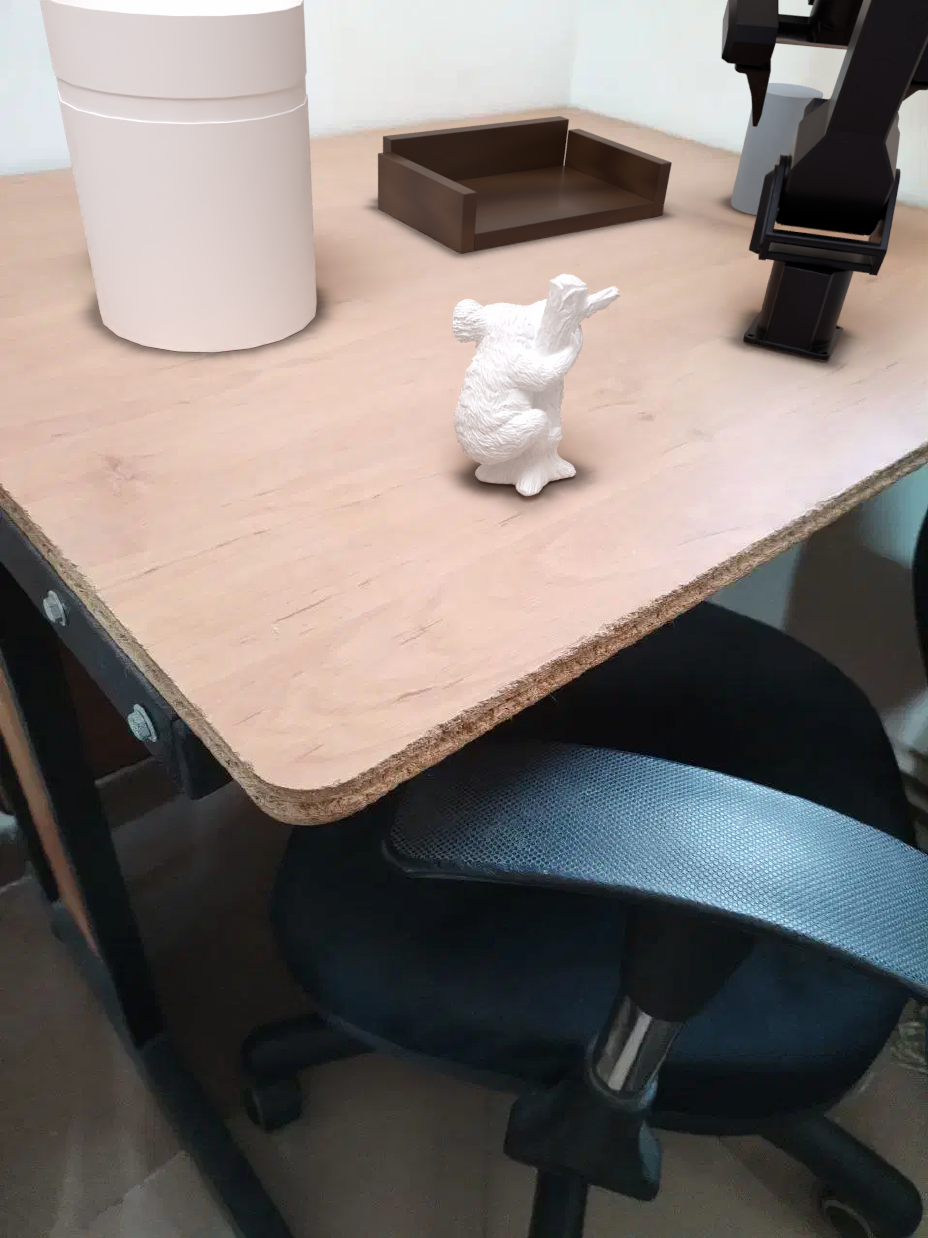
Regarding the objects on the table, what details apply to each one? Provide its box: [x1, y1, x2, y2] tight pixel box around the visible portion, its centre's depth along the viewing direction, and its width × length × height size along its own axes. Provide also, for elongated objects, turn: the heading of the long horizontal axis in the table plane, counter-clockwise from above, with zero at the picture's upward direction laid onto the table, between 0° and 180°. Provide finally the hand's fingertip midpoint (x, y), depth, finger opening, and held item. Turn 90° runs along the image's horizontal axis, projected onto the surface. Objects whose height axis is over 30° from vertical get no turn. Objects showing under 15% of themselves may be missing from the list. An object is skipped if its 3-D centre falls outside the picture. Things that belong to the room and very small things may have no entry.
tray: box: [377, 115, 673, 254], centre depth 93 cm, size 16×25×6 cm, turn 125°
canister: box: [39, 0, 318, 353], centre depth 66 cm, size 16×16×20 cm
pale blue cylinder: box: [730, 82, 824, 216], centre depth 97 cm, size 8×6×11 cm
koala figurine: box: [451, 273, 621, 497], centre depth 52 cm, size 8×7×12 cm
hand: (806, 128), depth 86 cm, fingers open, 9 cm apart
